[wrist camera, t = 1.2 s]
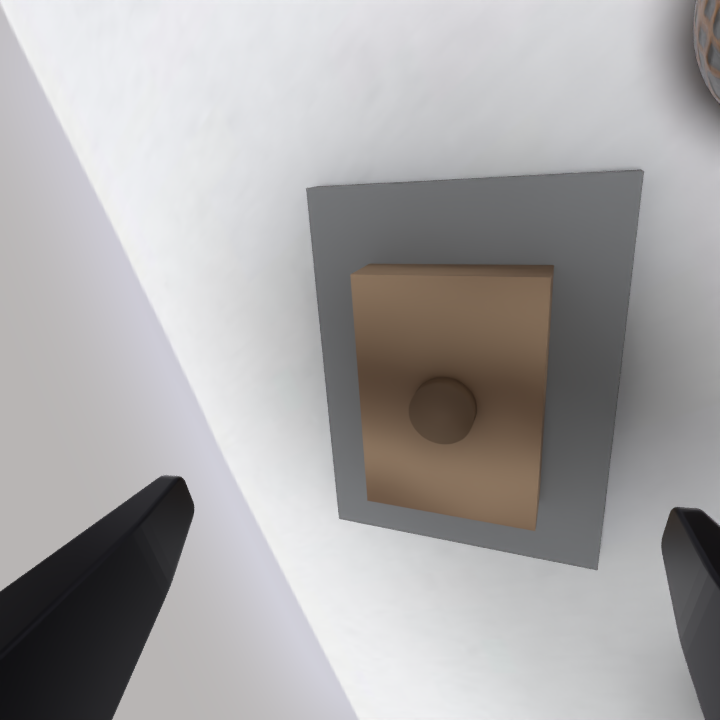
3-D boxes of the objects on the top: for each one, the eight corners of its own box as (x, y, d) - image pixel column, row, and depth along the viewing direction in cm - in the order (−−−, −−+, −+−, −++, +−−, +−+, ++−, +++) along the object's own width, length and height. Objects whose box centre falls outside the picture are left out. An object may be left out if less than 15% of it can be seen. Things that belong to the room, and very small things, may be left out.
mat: (597, 554, 23) (597, 570, 23) (346, 507, 28) (339, 518, 27) (641, 169, 18) (643, 171, 17) (317, 186, 22) (306, 188, 21)
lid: (539, 501, 22) (533, 544, 20) (382, 475, 25) (360, 511, 23) (554, 264, 19) (549, 283, 16) (369, 263, 21) (341, 279, 19)
